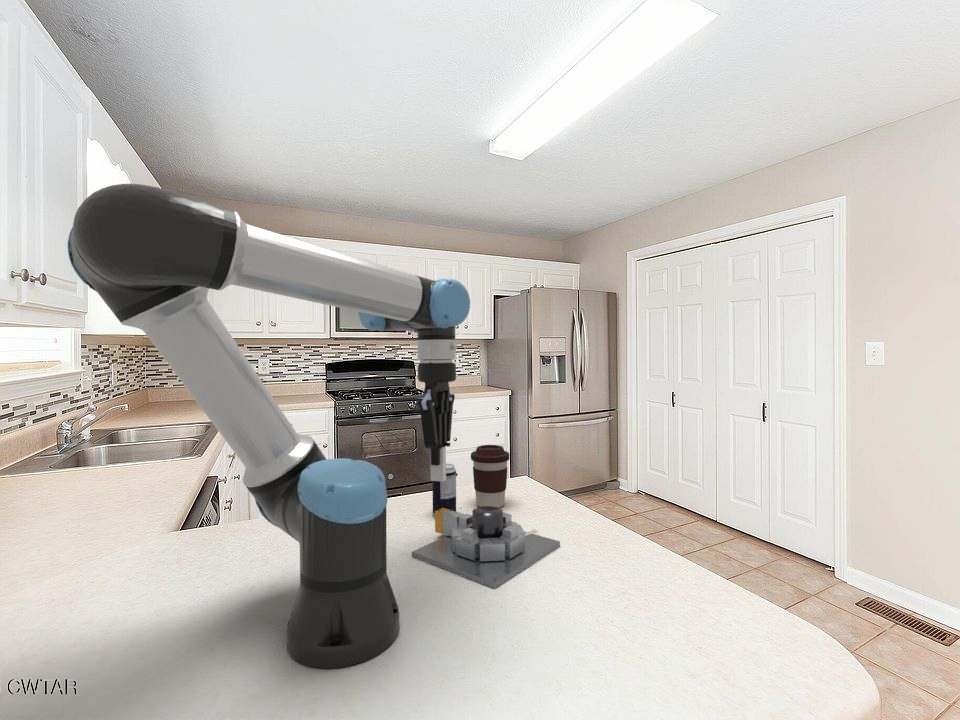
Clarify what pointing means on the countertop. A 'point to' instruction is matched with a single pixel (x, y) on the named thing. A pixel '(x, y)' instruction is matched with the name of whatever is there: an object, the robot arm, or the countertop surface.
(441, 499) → the beverage can
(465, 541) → the segmented block ring
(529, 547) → the flange plate
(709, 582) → the countertop surface
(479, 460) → the coffee cup
